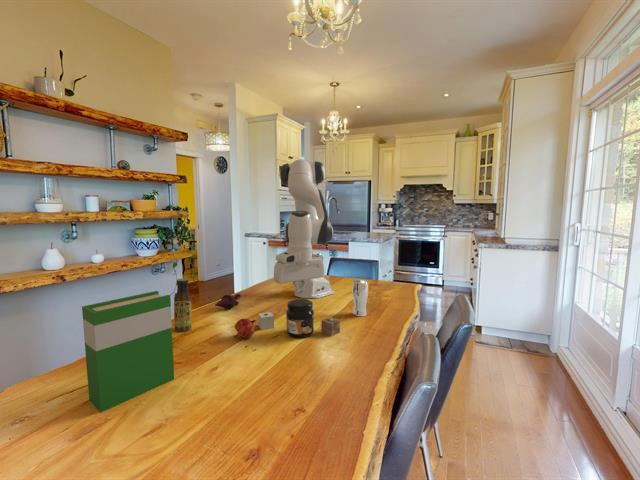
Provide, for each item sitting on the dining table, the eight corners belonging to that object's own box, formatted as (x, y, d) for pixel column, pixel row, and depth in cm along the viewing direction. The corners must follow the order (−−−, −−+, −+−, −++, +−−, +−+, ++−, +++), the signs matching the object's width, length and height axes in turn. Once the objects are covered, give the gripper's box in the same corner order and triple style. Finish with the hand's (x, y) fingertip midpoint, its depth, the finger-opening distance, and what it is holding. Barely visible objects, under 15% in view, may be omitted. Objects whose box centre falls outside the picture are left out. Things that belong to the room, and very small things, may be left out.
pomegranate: (236, 348, 111) (258, 332, 110) (223, 331, 111) (246, 315, 110) (242, 341, 118) (263, 326, 118) (231, 326, 118) (251, 310, 118)
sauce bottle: (173, 333, 117) (170, 281, 115) (175, 327, 123) (173, 278, 121) (191, 331, 119) (189, 280, 117) (193, 325, 125) (191, 277, 123)
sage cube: (270, 323, 128) (270, 311, 128) (274, 328, 124) (273, 315, 123) (258, 325, 126) (258, 313, 126) (261, 330, 122) (261, 317, 121)
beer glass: (367, 311, 143) (368, 279, 141) (368, 317, 136) (368, 283, 135) (351, 311, 144) (352, 279, 142) (352, 316, 137) (352, 283, 135)
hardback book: (160, 370, 91) (156, 290, 89) (174, 379, 87) (170, 295, 84) (89, 400, 77) (81, 306, 75) (100, 412, 73) (93, 313, 70)
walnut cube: (329, 329, 123) (329, 316, 123) (339, 332, 120) (339, 319, 119) (321, 333, 119) (321, 319, 119) (331, 336, 116) (331, 323, 116)
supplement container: (288, 340, 112) (288, 308, 111) (284, 329, 123) (284, 299, 121) (317, 337, 115) (317, 305, 114) (310, 326, 125) (310, 297, 124)
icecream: (222, 301, 137) (246, 295, 150) (211, 294, 140) (235, 289, 153) (219, 315, 138) (243, 309, 151) (208, 308, 141) (232, 302, 154)
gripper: (318, 252, 124) (318, 286, 126) (271, 256, 112) (271, 293, 114) (327, 254, 119) (327, 289, 120) (279, 258, 107) (279, 298, 109)
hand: (300, 291), depth 117 cm, fingers closed
